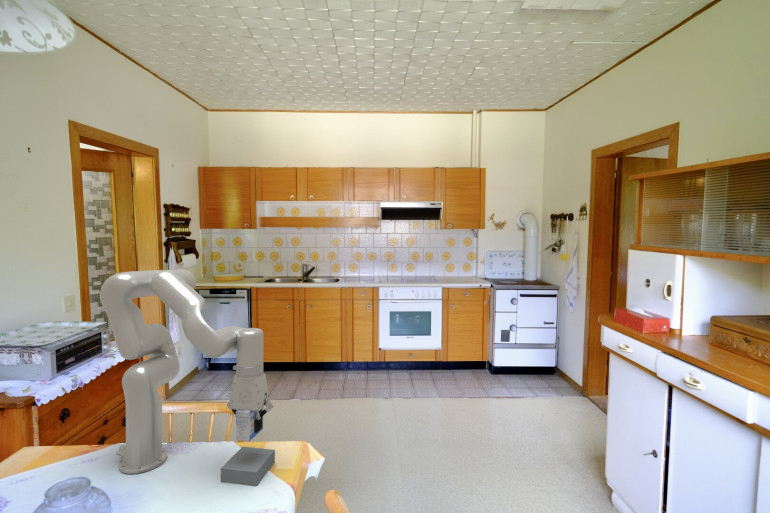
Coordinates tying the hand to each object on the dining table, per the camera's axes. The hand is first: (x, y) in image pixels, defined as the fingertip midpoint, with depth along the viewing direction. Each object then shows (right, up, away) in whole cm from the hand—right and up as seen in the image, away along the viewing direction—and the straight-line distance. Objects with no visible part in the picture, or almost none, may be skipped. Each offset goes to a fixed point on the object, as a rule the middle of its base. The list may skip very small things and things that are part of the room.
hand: (249, 429), depth 111 cm
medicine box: (0, -2, 0) cm, 2 cm away
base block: (0, -13, 0) cm, 13 cm away
